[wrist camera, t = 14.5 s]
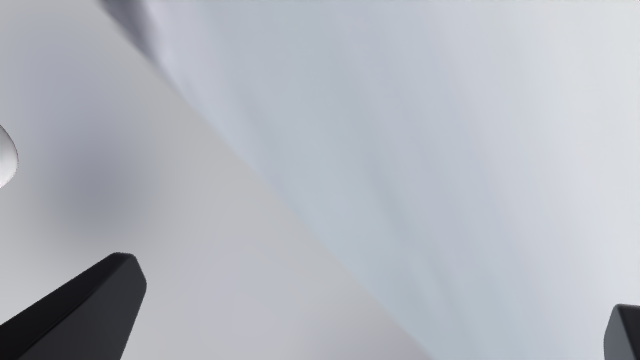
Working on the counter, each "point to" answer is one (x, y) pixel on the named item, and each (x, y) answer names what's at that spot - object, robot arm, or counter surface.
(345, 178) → the counter surface
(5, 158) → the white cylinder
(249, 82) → the counter surface
